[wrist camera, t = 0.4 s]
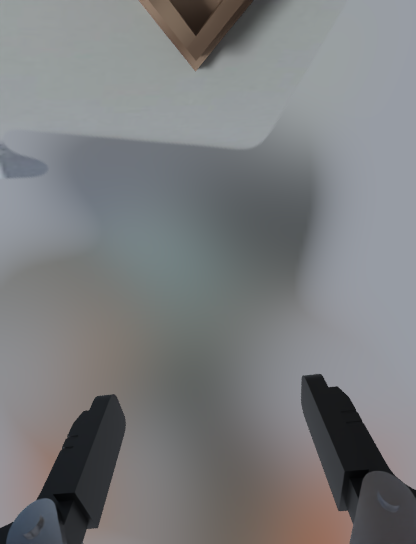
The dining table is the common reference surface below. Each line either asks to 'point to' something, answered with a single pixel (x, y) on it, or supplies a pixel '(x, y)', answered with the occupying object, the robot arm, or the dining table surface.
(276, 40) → the dining table surface
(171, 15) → the wooden tray
